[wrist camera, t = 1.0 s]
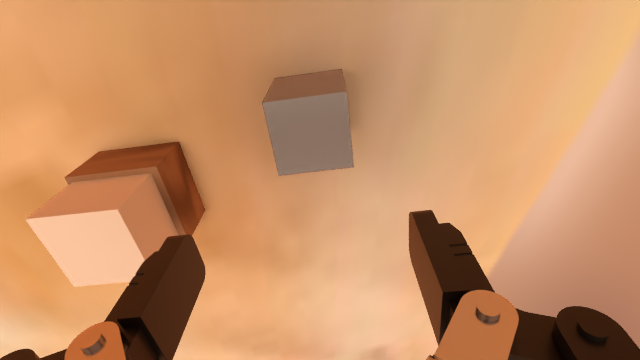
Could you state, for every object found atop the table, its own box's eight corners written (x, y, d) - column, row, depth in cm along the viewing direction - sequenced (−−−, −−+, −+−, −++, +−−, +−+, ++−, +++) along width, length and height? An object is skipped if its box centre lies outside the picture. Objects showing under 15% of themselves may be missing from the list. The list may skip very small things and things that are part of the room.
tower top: (72, 181, 24) (25, 219, 20) (150, 172, 24) (117, 209, 20) (109, 243, 27) (74, 286, 23) (179, 237, 27) (155, 279, 23)
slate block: (274, 78, 25) (262, 102, 20) (341, 68, 24) (346, 91, 19) (287, 139, 27) (278, 175, 22) (347, 132, 27) (353, 167, 22)
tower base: (100, 151, 28) (64, 177, 24) (179, 140, 27) (156, 166, 24) (134, 217, 32) (108, 249, 28) (205, 209, 31) (188, 241, 27)
